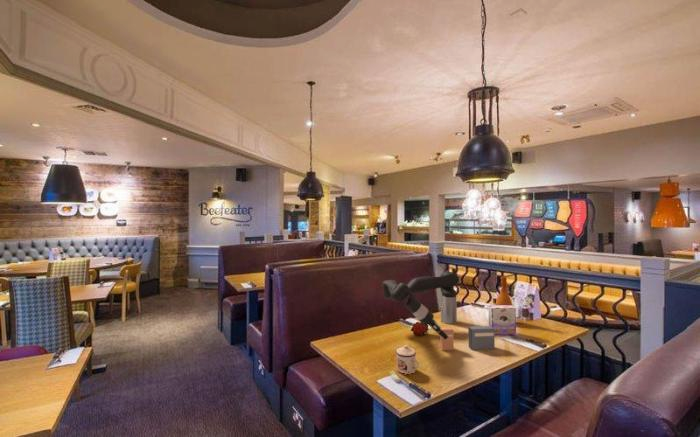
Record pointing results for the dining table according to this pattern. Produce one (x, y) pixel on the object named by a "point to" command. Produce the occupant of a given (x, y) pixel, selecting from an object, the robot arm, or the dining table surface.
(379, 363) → the dining table surface
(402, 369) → the teacup with lid
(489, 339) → the gray block
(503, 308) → the candy box
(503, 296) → the brown tapered piece
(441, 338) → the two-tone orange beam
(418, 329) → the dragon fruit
